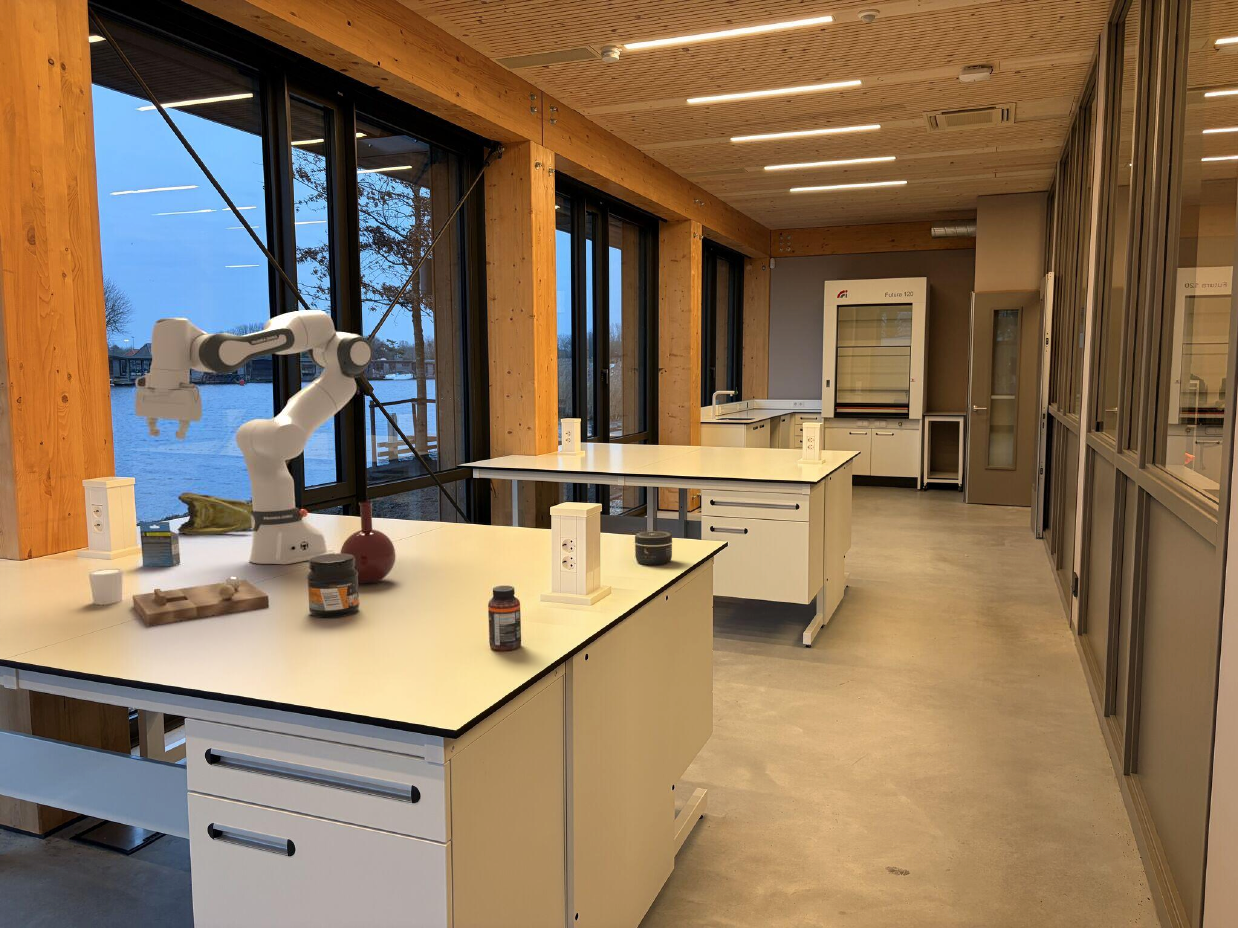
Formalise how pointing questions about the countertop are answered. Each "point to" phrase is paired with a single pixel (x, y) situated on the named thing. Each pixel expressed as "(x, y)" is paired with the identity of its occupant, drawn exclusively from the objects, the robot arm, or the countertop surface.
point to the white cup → (106, 586)
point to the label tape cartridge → (159, 544)
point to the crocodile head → (215, 514)
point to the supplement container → (333, 585)
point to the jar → (653, 548)
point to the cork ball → (226, 592)
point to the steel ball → (233, 582)
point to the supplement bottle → (504, 619)
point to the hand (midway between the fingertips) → (167, 437)
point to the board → (196, 602)
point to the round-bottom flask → (370, 549)
